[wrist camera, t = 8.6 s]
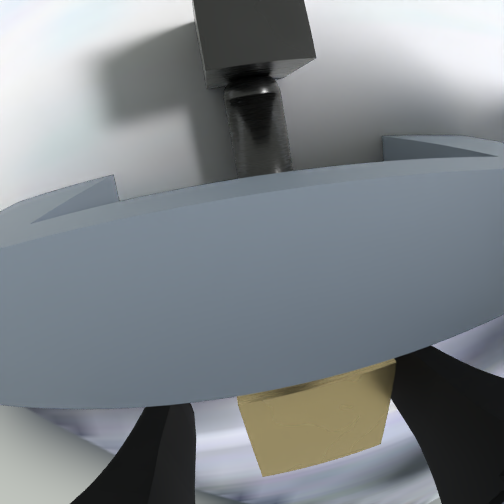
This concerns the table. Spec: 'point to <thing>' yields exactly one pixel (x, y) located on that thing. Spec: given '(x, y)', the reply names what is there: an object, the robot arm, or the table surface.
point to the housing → (248, 277)
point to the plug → (269, 162)
